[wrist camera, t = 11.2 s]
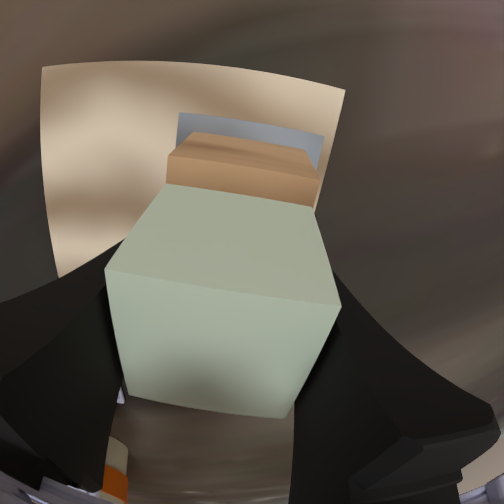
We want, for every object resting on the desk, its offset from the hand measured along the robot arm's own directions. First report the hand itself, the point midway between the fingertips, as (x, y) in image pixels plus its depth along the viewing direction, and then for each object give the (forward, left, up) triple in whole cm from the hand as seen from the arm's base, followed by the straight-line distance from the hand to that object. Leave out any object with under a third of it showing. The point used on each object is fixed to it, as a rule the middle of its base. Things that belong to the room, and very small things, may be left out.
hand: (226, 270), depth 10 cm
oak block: (0, 0, -7) cm, 7 cm away
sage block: (0, 0, -1) cm, 1 cm away
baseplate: (-3, +4, -8) cm, 10 cm away
